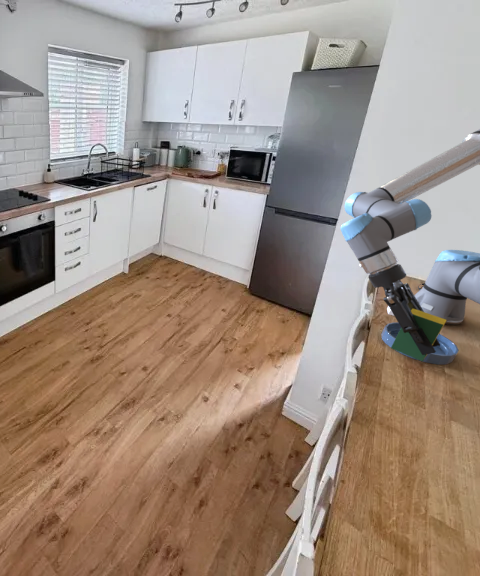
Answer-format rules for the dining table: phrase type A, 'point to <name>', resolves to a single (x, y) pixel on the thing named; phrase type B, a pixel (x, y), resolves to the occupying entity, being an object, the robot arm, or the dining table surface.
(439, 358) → the bowl
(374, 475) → the dining table surface
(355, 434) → the dining table surface
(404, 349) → the sponge
